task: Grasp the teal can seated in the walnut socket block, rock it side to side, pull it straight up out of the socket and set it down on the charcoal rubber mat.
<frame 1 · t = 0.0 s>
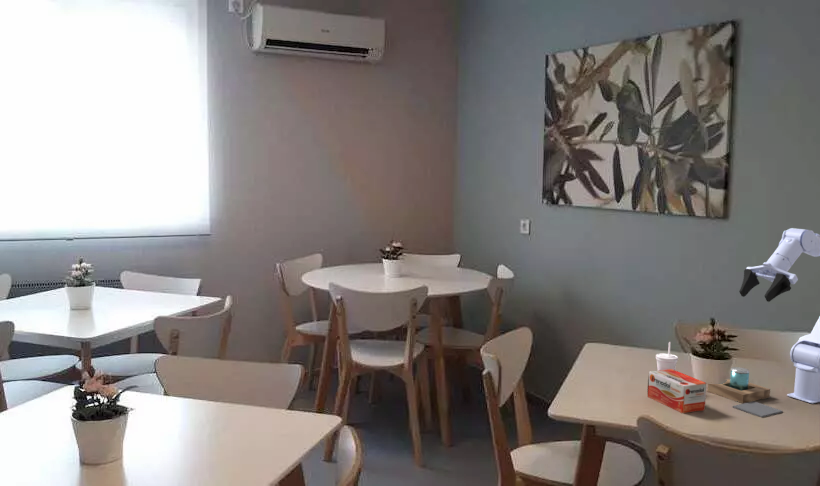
hand: (753, 296, 203), 32 cm above the table, tool tilted 50°, fingers open, 7 cm apart
medicine box: (675, 404, 213), on the table
smoothie: (664, 387, 228), on the table
teal can: (739, 382, 222), in the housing
mat: (757, 409, 209), on the table
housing: (738, 394, 222), on the table
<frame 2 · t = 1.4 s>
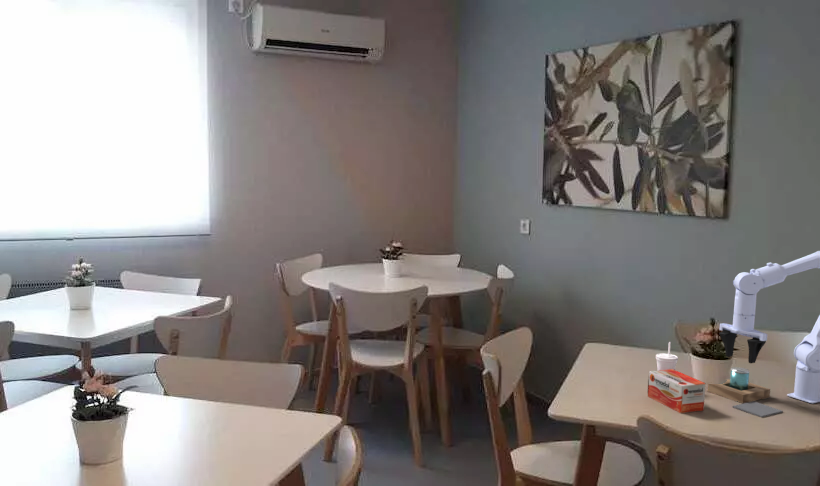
hand: (740, 359, 221), 11 cm above the table, tool pointing down, fingers open, 7 cm apart
nothing on the table moved.
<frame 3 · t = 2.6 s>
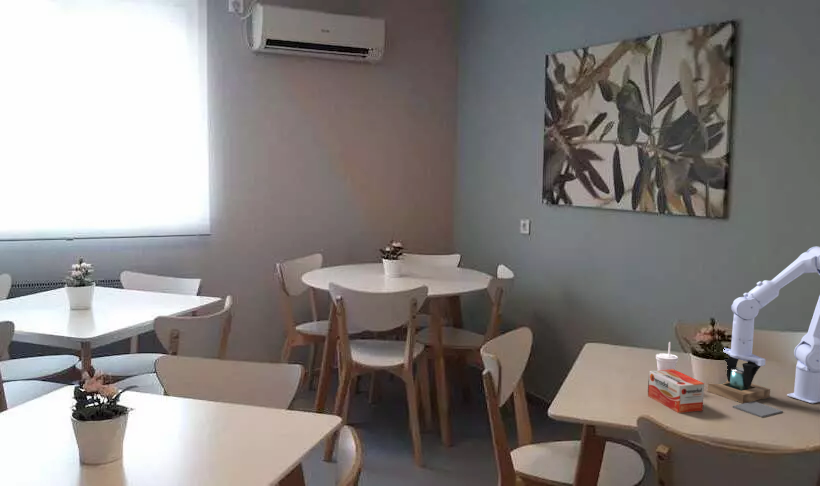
hand: (739, 383, 222), 3 cm above the table, tool pointing down, fingers closed on teal can, 5 cm apart
teal can: (739, 382, 222), in the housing, touching gripper
everything else where it was.
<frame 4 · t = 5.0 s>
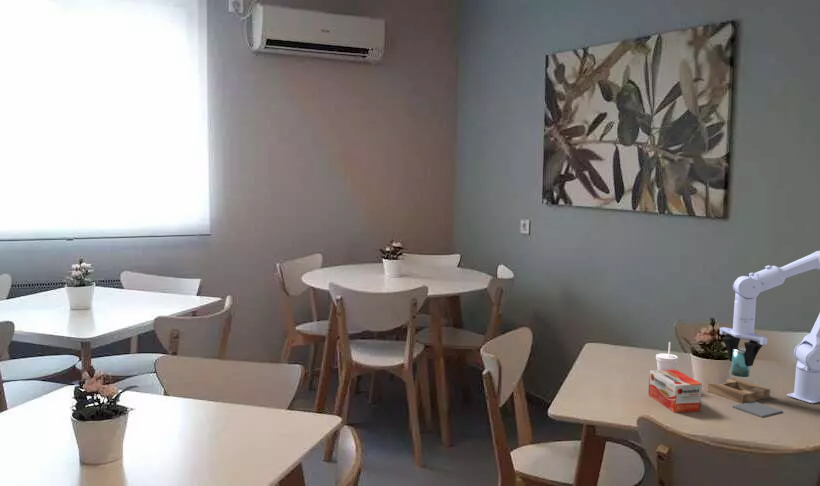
hand: (740, 363, 221), 9 cm above the table, tool pointing down, fingers closed on teal can, 5 cm apart
teal can: (741, 362, 221), point 10 cm above the table, touching gripper
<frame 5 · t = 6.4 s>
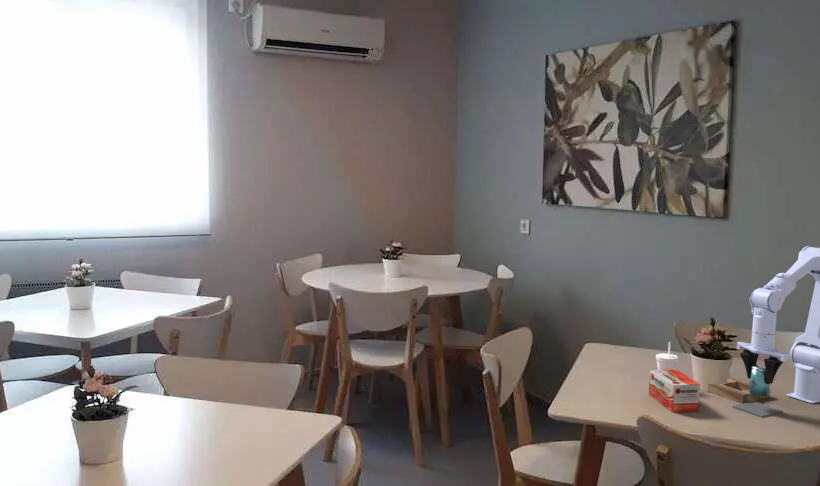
hand: (759, 380, 208), 8 cm above the table, tool pointing down, fingers closed on teal can, 5 cm apart
teal can: (760, 380, 208), point 8 cm above the table, touching gripper
when the fingers open (5 cm above the table, at t = 7.5 s): teal can stays where it is, resting on mat.
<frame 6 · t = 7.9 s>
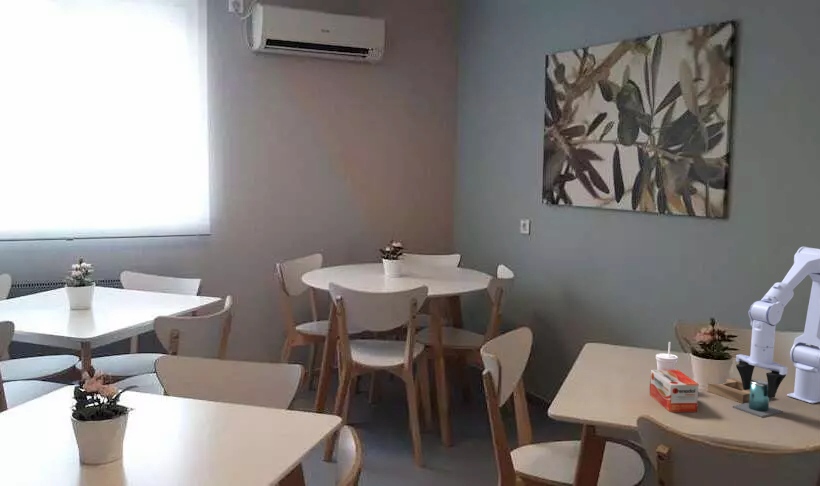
hand: (758, 393, 208), 5 cm above the table, tool pointing down, fingers open, 7 cm apart
teal can: (759, 395, 208), on the mat
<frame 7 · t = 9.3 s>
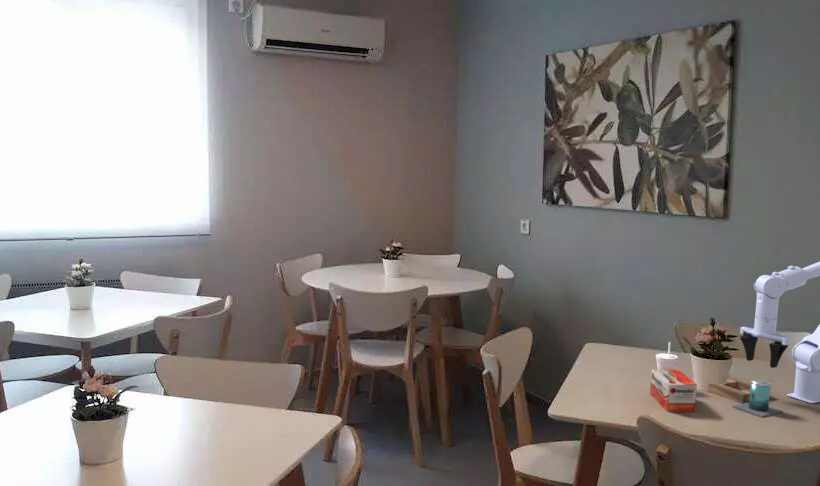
hand: (761, 363, 217), 10 cm above the table, tool pointing down, fingers open, 7 cm apart
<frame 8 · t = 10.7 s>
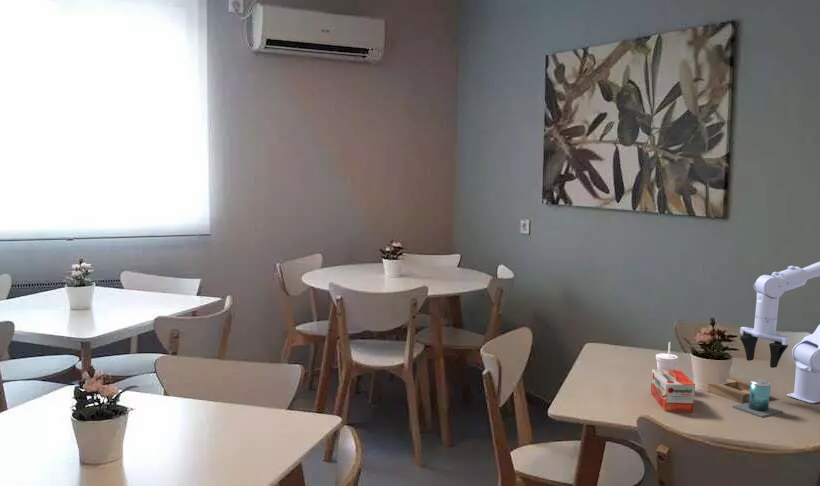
hand: (761, 363, 218), 10 cm above the table, tool pointing down, fingers open, 7 cm apart
at the end: teal can inside the target area on the mat (0.2 cm from its centre), point 4.2 cm above the mat's base; teal can tilted 2°; teal can touching mat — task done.
